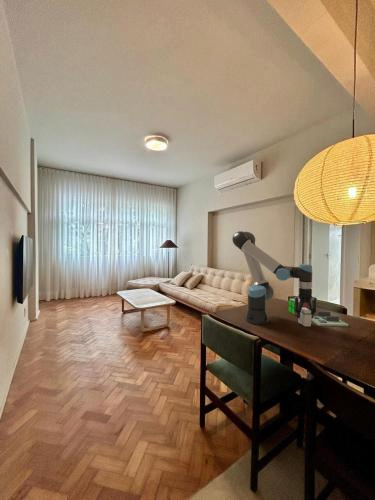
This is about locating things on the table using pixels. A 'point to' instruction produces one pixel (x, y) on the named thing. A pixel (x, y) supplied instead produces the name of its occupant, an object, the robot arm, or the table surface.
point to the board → (327, 319)
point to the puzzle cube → (291, 305)
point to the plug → (306, 317)
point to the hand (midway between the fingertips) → (304, 322)
